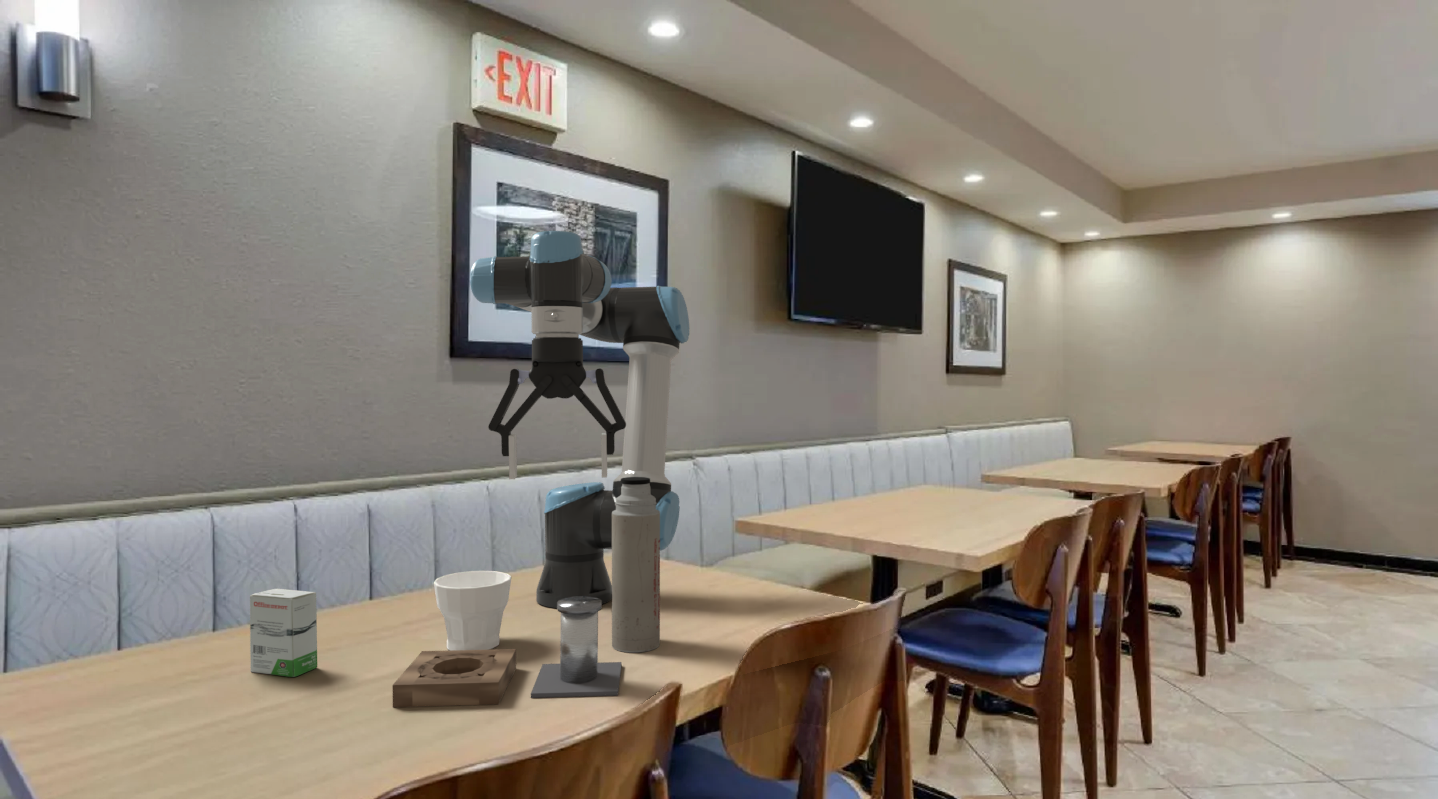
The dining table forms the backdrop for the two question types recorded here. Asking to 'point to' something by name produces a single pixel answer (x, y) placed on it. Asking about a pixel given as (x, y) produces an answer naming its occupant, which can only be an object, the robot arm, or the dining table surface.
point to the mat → (555, 687)
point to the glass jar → (579, 638)
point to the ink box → (283, 632)
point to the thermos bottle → (635, 568)
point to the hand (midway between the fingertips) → (559, 477)
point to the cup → (472, 607)
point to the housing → (455, 678)
